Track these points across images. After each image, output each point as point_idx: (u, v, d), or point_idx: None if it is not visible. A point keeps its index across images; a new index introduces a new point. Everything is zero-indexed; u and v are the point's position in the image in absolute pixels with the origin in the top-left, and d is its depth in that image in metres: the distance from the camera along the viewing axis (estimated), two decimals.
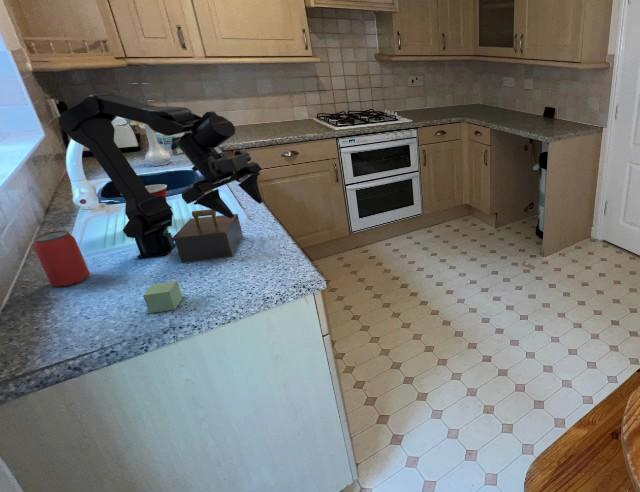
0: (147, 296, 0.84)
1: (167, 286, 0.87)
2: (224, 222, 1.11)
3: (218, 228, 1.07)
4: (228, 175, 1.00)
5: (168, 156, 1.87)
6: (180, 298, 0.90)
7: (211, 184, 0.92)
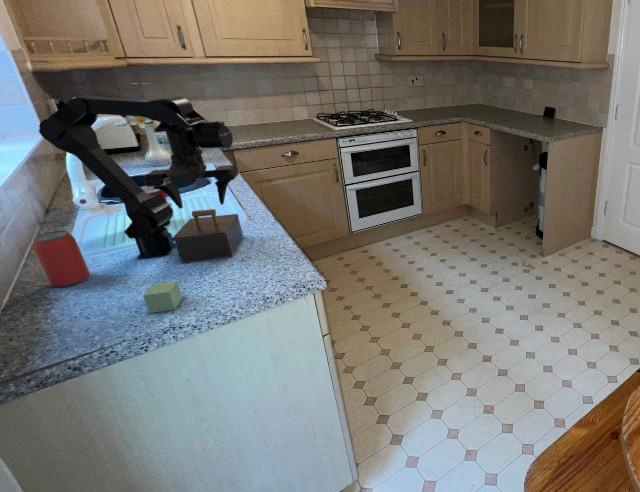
0: (147, 296, 0.84)
1: (167, 286, 0.87)
2: (224, 222, 1.11)
3: (218, 228, 1.07)
4: None
5: (168, 156, 1.87)
6: (180, 298, 0.90)
7: (160, 181, 1.00)
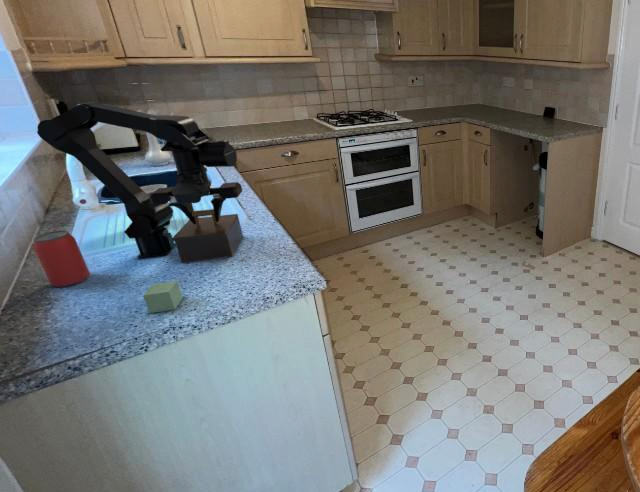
0: (147, 296, 0.84)
1: (167, 286, 0.87)
2: (224, 222, 1.11)
3: (218, 228, 1.07)
4: None
5: (168, 156, 1.87)
6: (180, 298, 0.90)
7: (166, 199, 1.01)
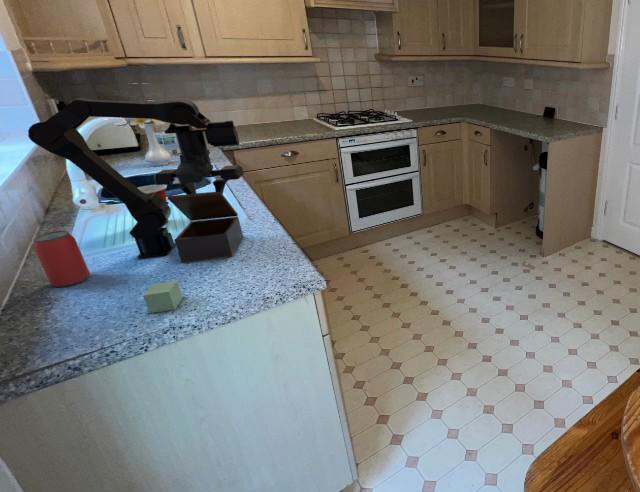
0: (147, 296, 0.84)
1: (167, 286, 0.87)
2: None
3: None
4: None
5: (168, 156, 1.87)
6: (180, 298, 0.90)
7: (169, 180, 1.04)
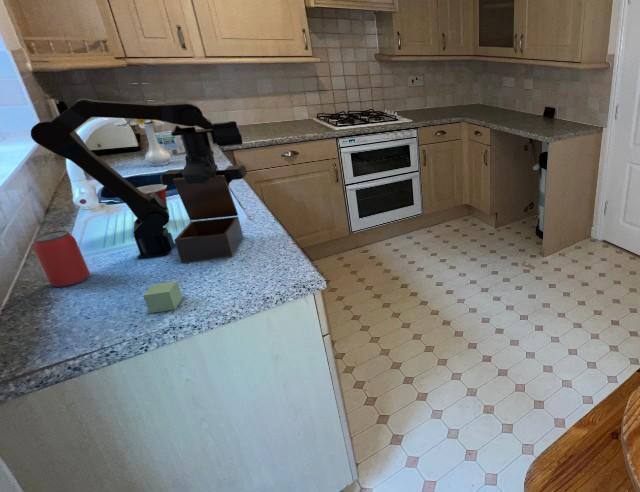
0: (147, 296, 0.84)
1: (167, 286, 0.87)
2: None
3: None
4: None
5: (168, 156, 1.87)
6: (180, 298, 0.90)
7: None
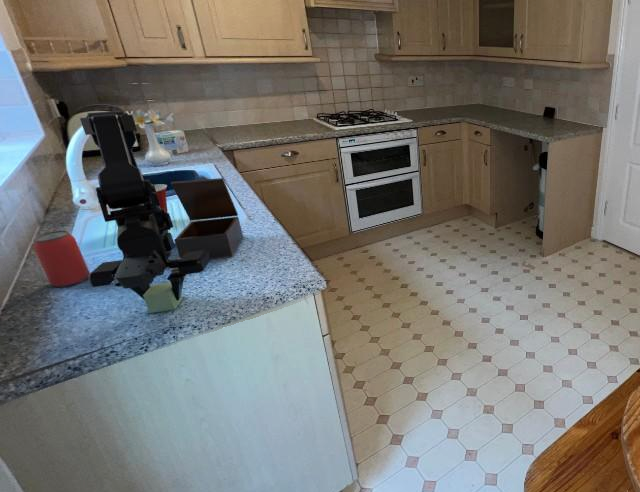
0: (147, 296, 0.84)
1: (167, 286, 0.87)
2: None
3: None
4: None
5: (168, 156, 1.87)
6: (180, 298, 0.90)
7: (110, 280, 0.80)
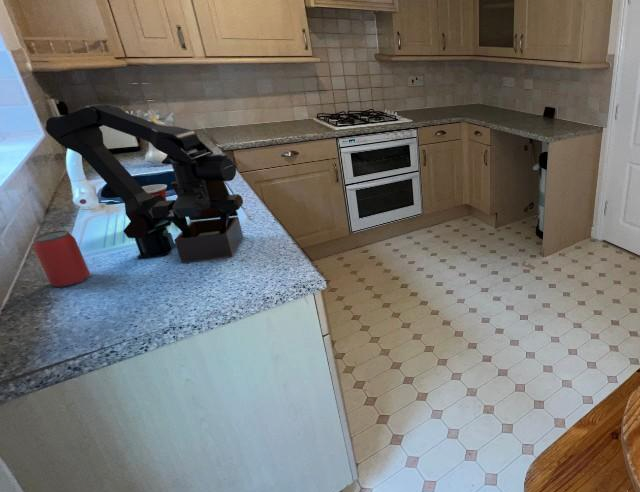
0: None
1: (212, 234, 1.09)
2: None
3: None
4: None
5: None
6: None
7: (166, 213, 1.01)
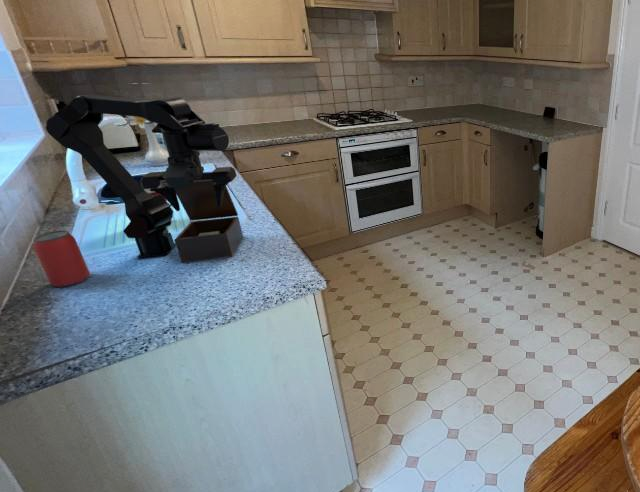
0: None
1: (212, 234, 1.09)
2: None
3: None
4: None
5: (168, 156, 1.87)
6: None
7: (157, 184, 0.98)
